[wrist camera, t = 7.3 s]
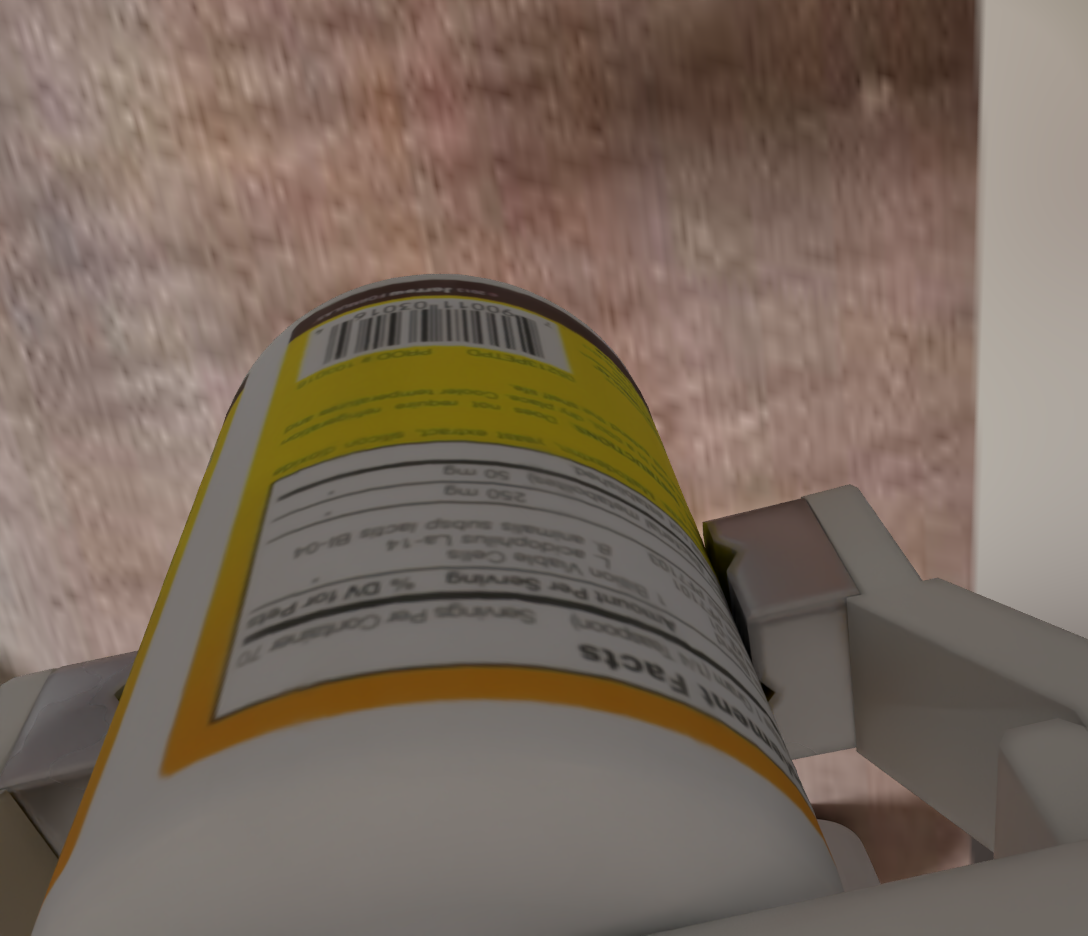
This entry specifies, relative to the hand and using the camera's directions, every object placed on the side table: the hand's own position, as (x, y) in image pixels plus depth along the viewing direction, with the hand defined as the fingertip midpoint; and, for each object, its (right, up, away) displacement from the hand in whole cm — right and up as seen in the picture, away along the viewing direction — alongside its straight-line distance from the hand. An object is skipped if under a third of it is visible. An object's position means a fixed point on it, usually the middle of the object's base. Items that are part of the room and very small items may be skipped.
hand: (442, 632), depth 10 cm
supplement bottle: (0, +2, +3) cm, 4 cm away
